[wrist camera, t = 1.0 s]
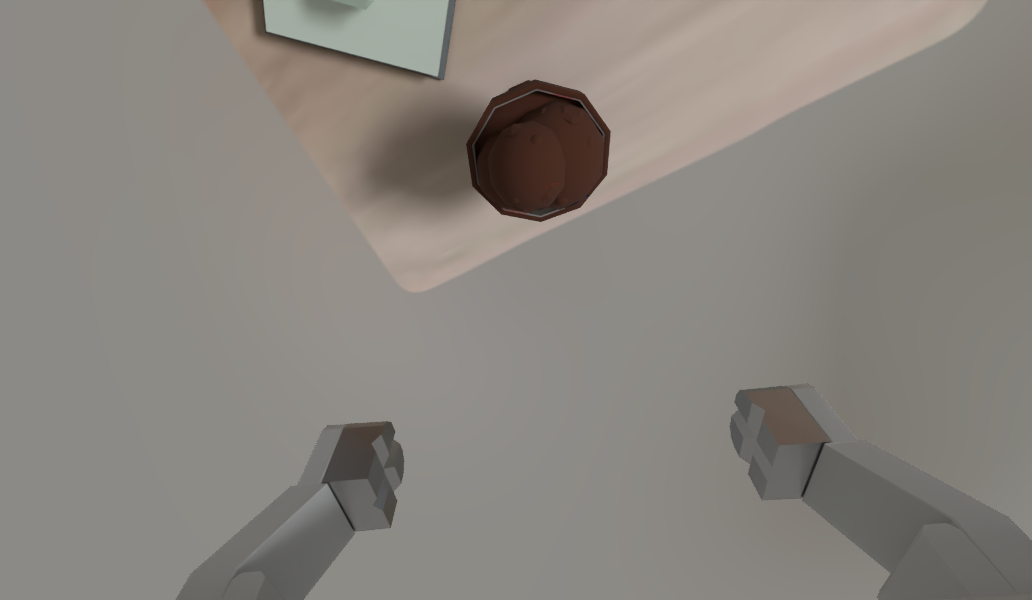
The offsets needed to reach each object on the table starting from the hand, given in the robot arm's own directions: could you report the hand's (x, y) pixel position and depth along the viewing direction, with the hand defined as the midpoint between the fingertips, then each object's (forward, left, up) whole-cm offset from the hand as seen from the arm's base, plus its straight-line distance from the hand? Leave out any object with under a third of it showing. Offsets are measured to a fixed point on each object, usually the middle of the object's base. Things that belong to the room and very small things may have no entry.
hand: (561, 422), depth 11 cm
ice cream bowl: (+5, +4, -36) cm, 36 cm away
